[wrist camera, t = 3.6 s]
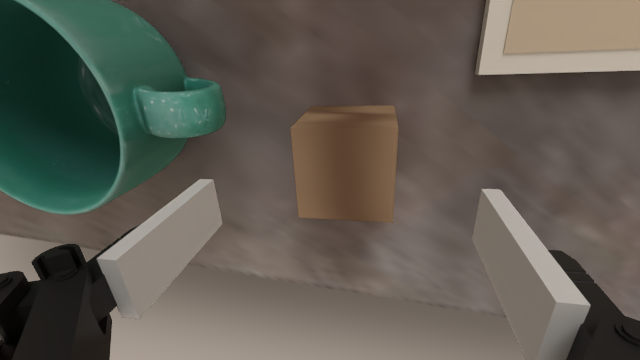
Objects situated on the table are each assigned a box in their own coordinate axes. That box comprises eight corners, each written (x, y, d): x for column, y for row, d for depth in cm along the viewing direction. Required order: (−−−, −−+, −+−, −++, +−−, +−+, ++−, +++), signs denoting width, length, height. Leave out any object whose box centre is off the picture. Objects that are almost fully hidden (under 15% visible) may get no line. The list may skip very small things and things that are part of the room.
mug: (88, 149, 28) (-37, 197, 20) (48, -10, 23) (-149, -37, 14) (260, 178, 26) (203, 245, 18) (262, 11, 21) (180, -6, 12)
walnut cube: (316, 179, 25) (298, 217, 20) (311, 106, 23) (290, 127, 18) (390, 181, 24) (392, 222, 19) (394, 105, 22) (398, 127, 16)
